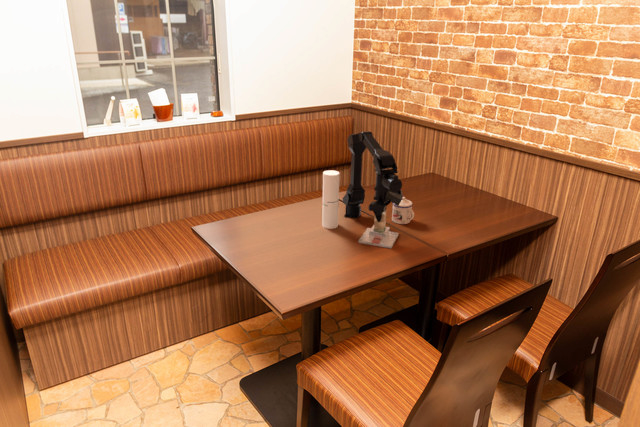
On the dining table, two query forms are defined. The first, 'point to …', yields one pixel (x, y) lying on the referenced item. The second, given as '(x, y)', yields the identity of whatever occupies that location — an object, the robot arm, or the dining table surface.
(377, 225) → the post
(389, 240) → the sleeve stand
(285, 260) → the dining table surface
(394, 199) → the robot arm
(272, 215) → the dining table surface
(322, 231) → the dining table surface
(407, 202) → the teacup with lid
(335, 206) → the cylindrical container
